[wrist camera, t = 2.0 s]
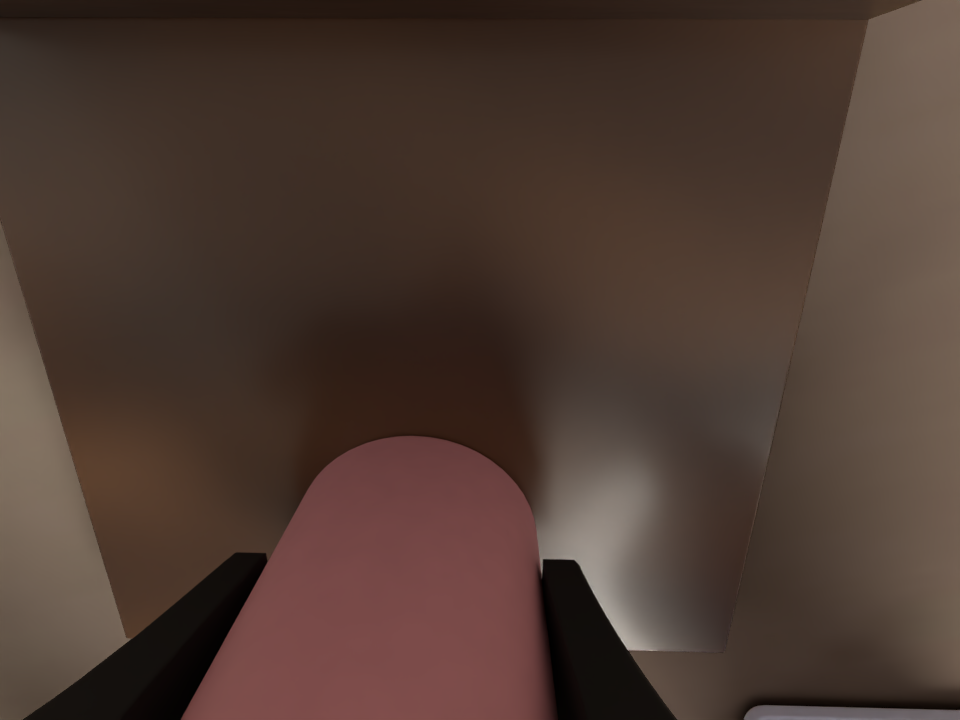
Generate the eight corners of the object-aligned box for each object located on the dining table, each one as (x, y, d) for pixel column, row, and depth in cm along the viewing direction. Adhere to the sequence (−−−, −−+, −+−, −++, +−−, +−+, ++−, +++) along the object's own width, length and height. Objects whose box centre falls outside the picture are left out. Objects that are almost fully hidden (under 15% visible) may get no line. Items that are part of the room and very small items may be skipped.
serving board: (707, 615, 14) (787, 787, 11) (153, 602, 15) (30, 765, 11) (846, -66, 9) (1115, -233, 5) (-26, -66, 9) (-398, -222, 5)
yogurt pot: (533, 632, 13) (569, 1062, 7) (310, 627, 13) (148, 1046, 7) (544, 433, 11) (609, 783, 5) (283, 429, 11) (26, 766, 5)
